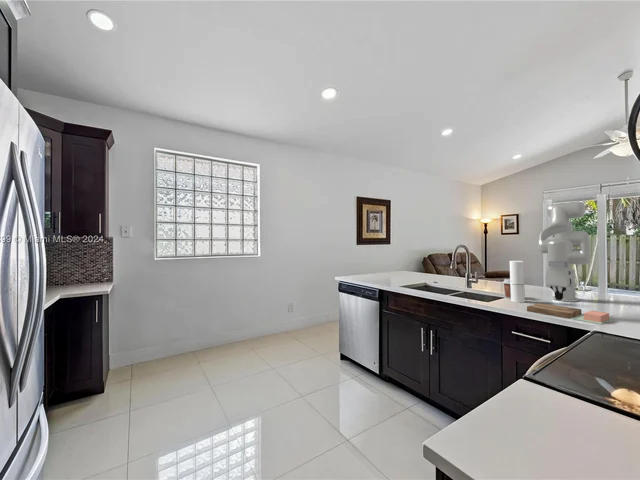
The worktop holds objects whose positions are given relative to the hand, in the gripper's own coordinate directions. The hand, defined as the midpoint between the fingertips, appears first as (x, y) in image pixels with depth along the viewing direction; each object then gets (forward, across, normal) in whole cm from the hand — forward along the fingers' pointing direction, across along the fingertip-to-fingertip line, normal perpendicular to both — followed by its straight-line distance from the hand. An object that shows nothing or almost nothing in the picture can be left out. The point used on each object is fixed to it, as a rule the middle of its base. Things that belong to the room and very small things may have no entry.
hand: (559, 299), depth 145 cm
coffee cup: (+8, +34, -20) cm, 41 cm away
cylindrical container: (+8, +26, -12) cm, 30 cm away
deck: (+7, +2, +2) cm, 7 cm away
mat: (+7, -13, +1) cm, 15 cm away
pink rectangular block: (+5, -15, +2) cm, 16 cm away
